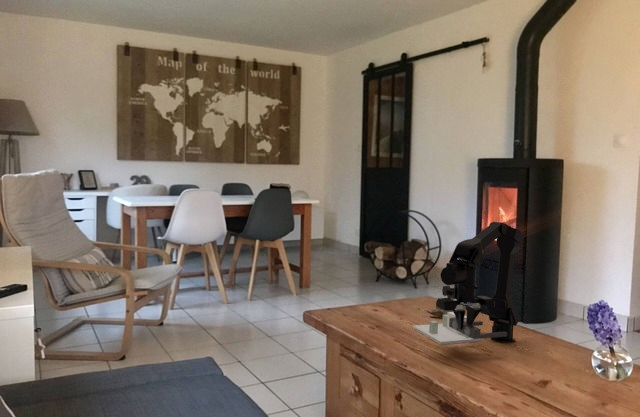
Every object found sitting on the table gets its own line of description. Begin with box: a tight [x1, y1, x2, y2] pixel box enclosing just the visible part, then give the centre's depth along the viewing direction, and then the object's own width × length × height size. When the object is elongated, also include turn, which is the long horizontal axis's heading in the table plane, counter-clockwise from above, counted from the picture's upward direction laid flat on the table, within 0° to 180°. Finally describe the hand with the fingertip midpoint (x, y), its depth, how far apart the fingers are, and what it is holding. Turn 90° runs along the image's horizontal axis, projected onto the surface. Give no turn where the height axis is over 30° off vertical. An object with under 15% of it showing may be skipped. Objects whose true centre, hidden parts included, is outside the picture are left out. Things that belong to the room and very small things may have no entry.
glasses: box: [449, 317, 507, 340], centre depth 177 cm, size 12×14×3 cm
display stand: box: [412, 312, 482, 346], centre depth 195 cm, size 16×20×7 cm
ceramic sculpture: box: [426, 298, 467, 318], centre depth 219 cm, size 11×9×15 cm
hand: (464, 329), depth 175 cm, fingers closed on glasses, 2 cm apart
